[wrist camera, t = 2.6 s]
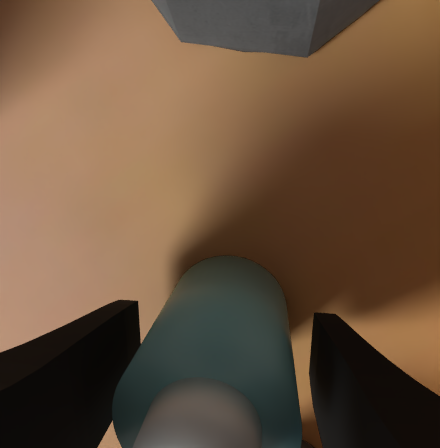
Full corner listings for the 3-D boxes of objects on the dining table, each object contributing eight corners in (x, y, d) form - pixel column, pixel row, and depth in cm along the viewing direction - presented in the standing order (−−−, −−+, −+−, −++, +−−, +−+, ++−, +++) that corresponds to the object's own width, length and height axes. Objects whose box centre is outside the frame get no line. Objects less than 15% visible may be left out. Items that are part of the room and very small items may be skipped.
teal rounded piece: (284, 364, 12) (301, 569, 6) (174, 354, 13) (98, 538, 7) (290, 258, 11) (317, 388, 5) (170, 252, 12) (78, 366, 6)
